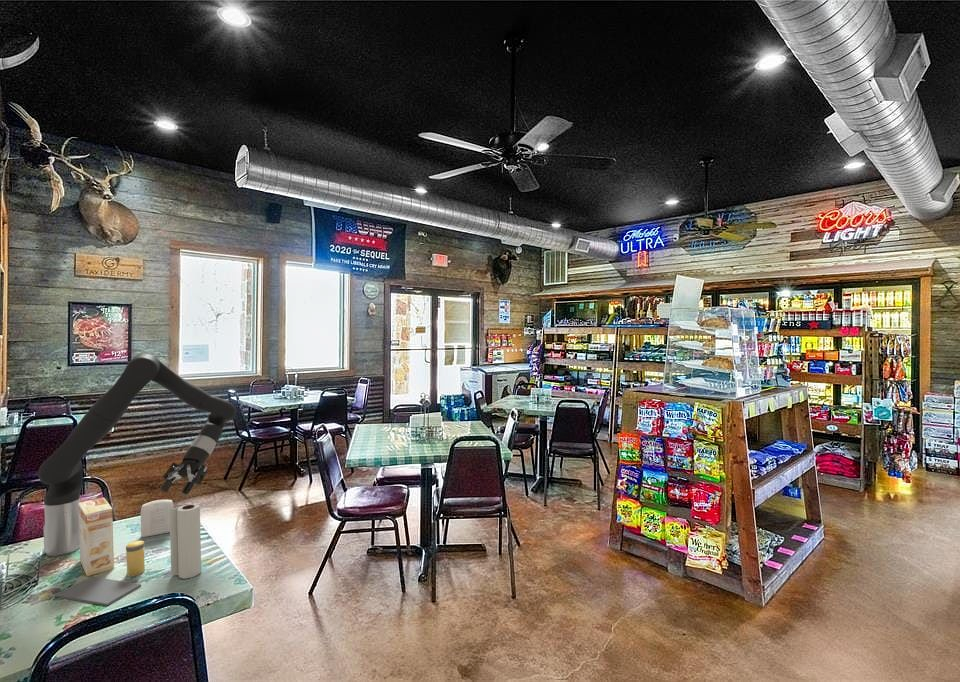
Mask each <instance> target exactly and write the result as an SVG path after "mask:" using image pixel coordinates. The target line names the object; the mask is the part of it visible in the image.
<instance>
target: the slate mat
mask: <svg viewBox="0 0 960 682" xmlns="http://www.w3.org/2000/svg"><path fill="white" fill-rule="evenodd" d="M141 587H142V584H141V583H135V582H129V581H123V580H116V579H111V578H106V577H105V578H104V577H97V576H92V575H90V577H89V576H88V577H87V578H85V579H83V580H81V581H80V582H78V583H75V584H74V585H72V586H70V587H67V588H65V589H64V590H62V591H60V592H58V593H57V592H56V594H54V597H55V598H60V599H66V600H71V601H78V602H83V603H89V604H95V605H101V606H107V605H108V606H110V605H112V604H113V603H115V602H117V601H118V600H119V599H122V598H123V597H125V596H126V595H128V594H131V593H132V592H134V591H135V590H137V589H138V588H141ZM109 604H110V605H109ZM108 606H107V607H108Z"/></svg>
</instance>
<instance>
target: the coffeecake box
mask: <svg viewBox="0 0 960 682" xmlns="http://www.w3.org/2000/svg"><path fill="white" fill-rule="evenodd" d="M78 509H79V542H80V548H79V561H80V565H82V568H83V570H84V573H85V575H86V576H87V577H89V576H90V577H91V576H92V575H97V574H99V573H103V572H106V571H109V570H113V569H115V560H114V558H115V557H114V556H115V555H114V554H115V553H114V521H113V520H114V519H113V518H114V517H113V510H114V509H113V507H112V506H111V504H110V503H109V502H108V500H107V499H106V498H105V497H100V498H95V499H94V498H93V499H90V500H86V501H80V503H78Z"/></svg>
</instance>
